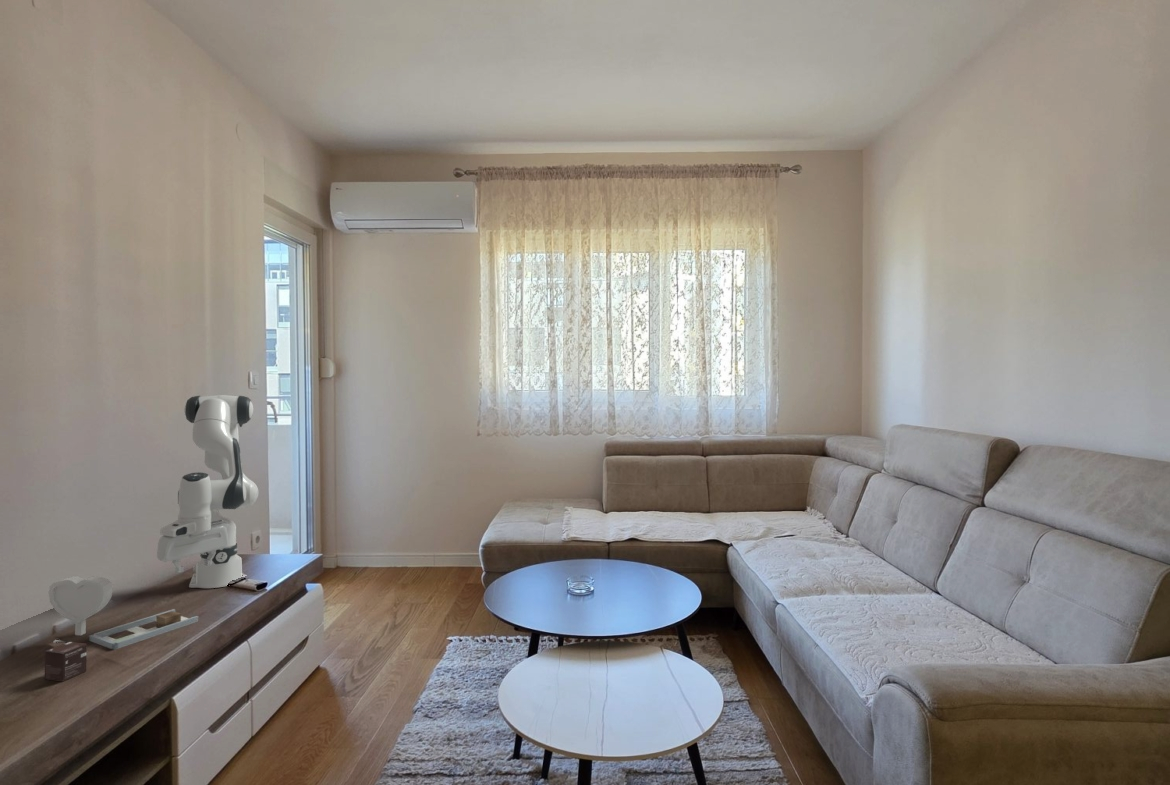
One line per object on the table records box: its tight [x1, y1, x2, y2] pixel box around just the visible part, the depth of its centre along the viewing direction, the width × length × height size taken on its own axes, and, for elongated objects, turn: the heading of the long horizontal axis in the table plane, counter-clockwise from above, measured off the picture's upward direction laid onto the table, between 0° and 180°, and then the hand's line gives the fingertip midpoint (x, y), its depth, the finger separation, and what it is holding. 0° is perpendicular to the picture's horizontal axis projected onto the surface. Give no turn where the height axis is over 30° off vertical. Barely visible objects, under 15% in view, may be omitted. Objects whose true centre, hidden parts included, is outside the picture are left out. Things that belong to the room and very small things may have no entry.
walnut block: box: [155, 611, 182, 628], centre depth 182 cm, size 4×4×4 cm
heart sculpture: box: [48, 575, 114, 644], centre depth 175 cm, size 16×5×18 cm, turn 93°
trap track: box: [88, 608, 199, 651], centre depth 178 cm, size 23×13×3 cm, turn 154°
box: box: [44, 641, 87, 682], centre depth 154 cm, size 6×6×7 cm
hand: (194, 568), depth 188 cm, fingers open, 7 cm apart
